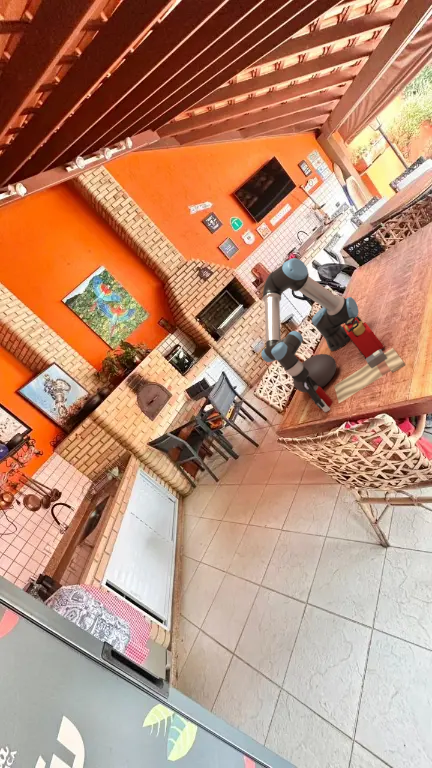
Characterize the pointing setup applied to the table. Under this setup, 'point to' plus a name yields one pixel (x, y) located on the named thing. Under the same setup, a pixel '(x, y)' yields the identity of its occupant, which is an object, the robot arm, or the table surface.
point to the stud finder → (376, 358)
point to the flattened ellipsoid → (318, 370)
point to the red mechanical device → (362, 336)
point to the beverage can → (322, 396)
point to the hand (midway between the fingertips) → (326, 404)
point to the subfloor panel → (367, 375)
